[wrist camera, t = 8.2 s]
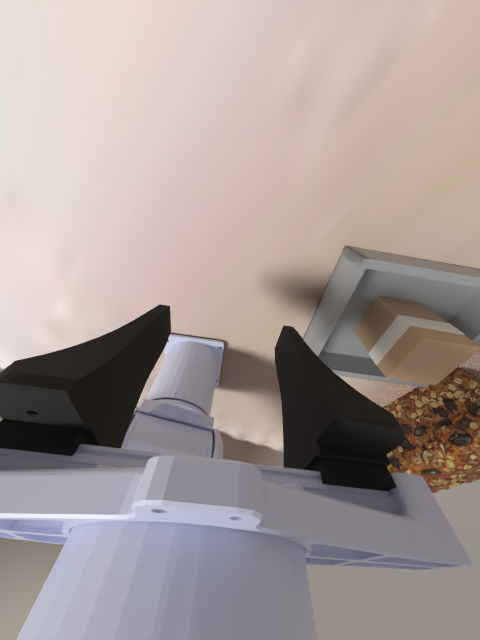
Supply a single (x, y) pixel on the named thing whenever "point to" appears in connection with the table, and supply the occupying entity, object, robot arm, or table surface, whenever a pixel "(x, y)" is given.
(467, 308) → the bin
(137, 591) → the robot arm
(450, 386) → the bread
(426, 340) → the carton
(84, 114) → the table surface
